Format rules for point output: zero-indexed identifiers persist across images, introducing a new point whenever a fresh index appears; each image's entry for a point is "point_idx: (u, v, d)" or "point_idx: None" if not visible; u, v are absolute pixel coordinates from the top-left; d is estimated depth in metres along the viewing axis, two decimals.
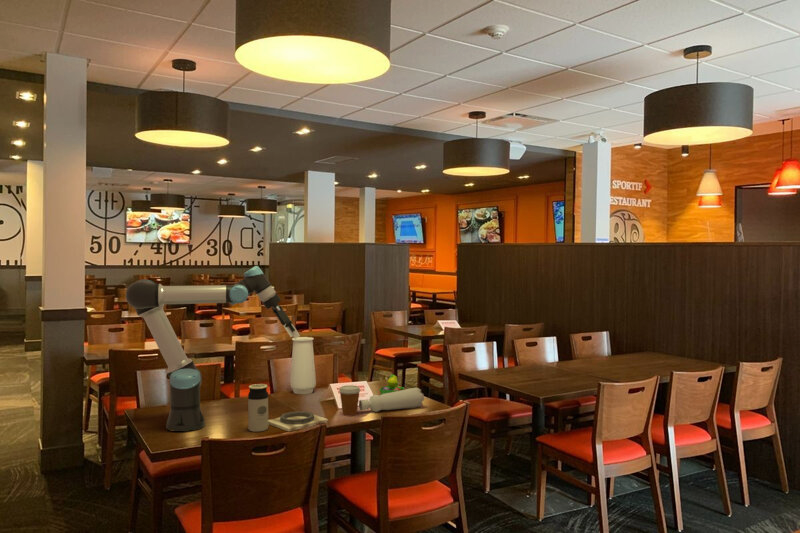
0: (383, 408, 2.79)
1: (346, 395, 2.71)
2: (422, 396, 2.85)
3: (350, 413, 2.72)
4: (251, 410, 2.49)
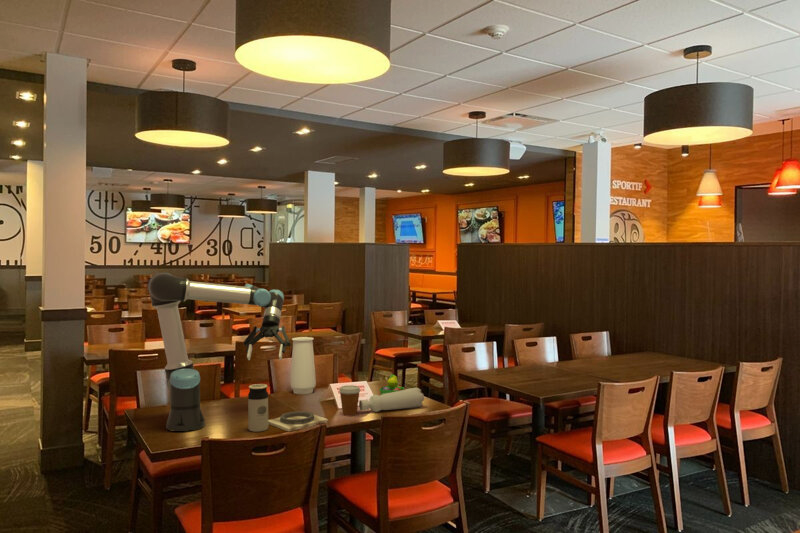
0: (383, 408, 2.79)
1: (346, 395, 2.71)
2: (422, 396, 2.85)
3: (350, 413, 2.72)
4: (251, 410, 2.49)
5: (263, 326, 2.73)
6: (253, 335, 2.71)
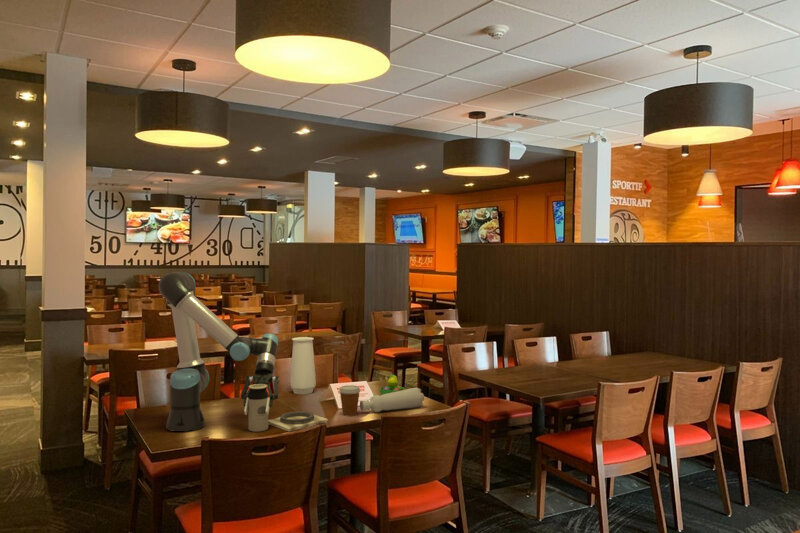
0: (384, 409, 2.78)
1: (346, 395, 2.71)
2: (422, 396, 2.85)
3: (350, 413, 2.72)
4: (251, 410, 2.49)
5: (255, 374, 2.60)
6: (248, 385, 2.57)
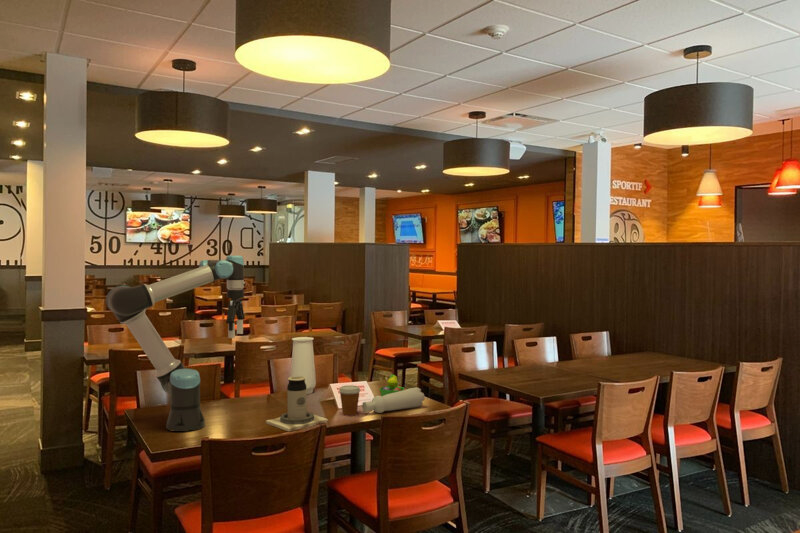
0: (386, 409, 2.77)
1: (346, 395, 2.71)
2: (423, 395, 2.86)
3: (350, 413, 2.72)
4: (290, 401, 2.58)
5: None
6: None
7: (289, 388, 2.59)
